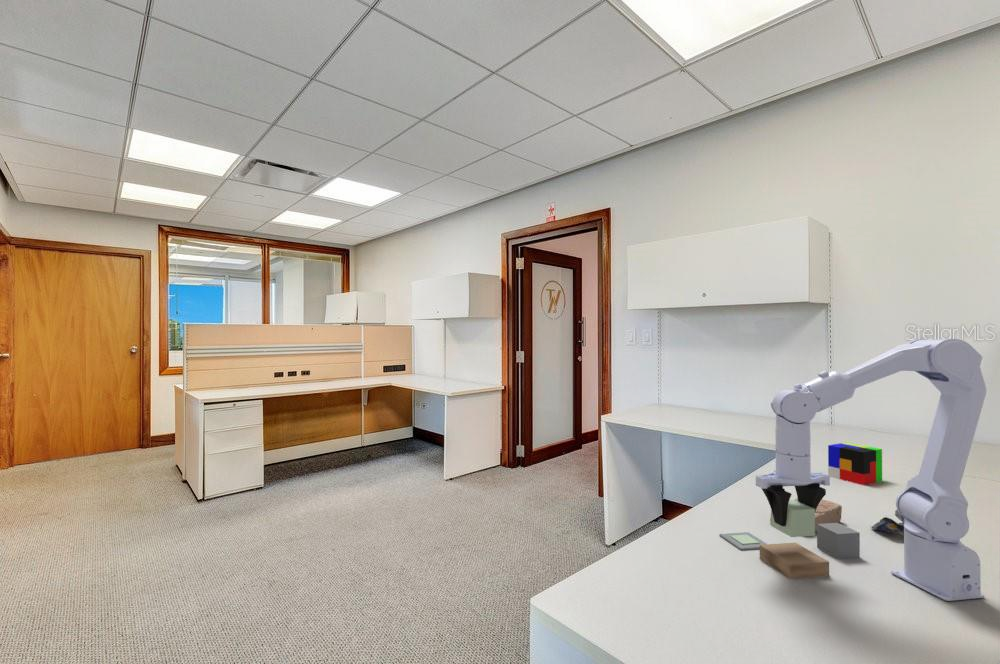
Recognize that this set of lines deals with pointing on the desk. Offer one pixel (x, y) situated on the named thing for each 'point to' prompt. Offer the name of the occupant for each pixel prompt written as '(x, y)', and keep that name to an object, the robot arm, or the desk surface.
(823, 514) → the brick
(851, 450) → the puzzle toy
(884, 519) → the snack package
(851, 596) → the desk surface
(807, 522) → the sage block
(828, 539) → the charcoal block
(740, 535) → the plaque
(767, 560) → the light brown block
